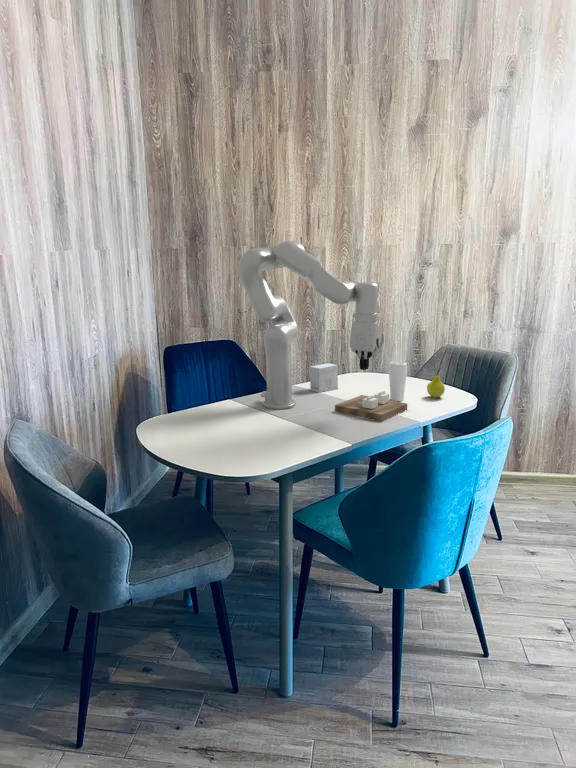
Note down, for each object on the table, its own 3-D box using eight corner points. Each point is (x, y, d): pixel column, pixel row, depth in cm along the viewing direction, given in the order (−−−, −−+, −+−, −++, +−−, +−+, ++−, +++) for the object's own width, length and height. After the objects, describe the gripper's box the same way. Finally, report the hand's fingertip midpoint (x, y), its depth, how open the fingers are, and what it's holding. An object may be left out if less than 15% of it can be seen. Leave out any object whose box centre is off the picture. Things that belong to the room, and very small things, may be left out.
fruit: (423, 397, 227) (424, 368, 224) (432, 394, 232) (434, 365, 229) (437, 400, 222) (439, 370, 219) (447, 397, 227) (449, 368, 224)
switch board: (334, 411, 209) (334, 404, 209) (361, 401, 223) (361, 394, 222) (381, 421, 197) (381, 414, 196) (407, 410, 210) (407, 403, 210)
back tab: (374, 402, 211) (374, 392, 210) (379, 400, 214) (380, 390, 213) (383, 404, 208) (383, 394, 207) (389, 401, 211) (389, 391, 210)
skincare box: (328, 386, 247) (328, 362, 245) (338, 389, 242) (338, 364, 240) (309, 389, 241) (309, 365, 239) (319, 392, 236) (319, 368, 234)
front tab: (362, 407, 205) (362, 396, 204) (368, 404, 208) (368, 394, 207) (371, 409, 202) (372, 398, 201) (377, 406, 205) (378, 396, 204)
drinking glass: (407, 402, 220) (408, 364, 217) (389, 402, 221) (390, 364, 217) (404, 397, 227) (405, 360, 223) (387, 397, 227) (388, 361, 224)
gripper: (342, 317, 201) (340, 368, 205) (378, 321, 191) (376, 374, 196) (354, 315, 206) (352, 364, 211) (389, 319, 197) (387, 370, 201)
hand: (364, 369), depth 203 cm, fingers closed
